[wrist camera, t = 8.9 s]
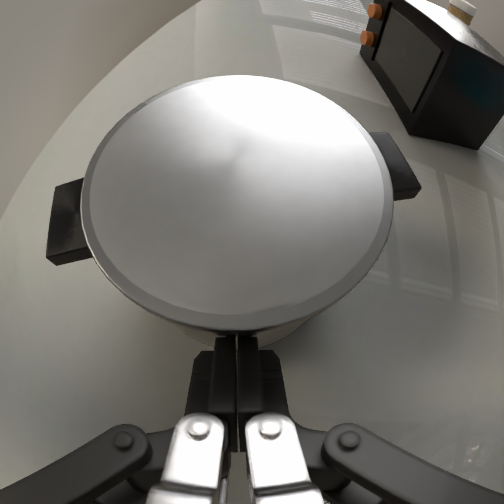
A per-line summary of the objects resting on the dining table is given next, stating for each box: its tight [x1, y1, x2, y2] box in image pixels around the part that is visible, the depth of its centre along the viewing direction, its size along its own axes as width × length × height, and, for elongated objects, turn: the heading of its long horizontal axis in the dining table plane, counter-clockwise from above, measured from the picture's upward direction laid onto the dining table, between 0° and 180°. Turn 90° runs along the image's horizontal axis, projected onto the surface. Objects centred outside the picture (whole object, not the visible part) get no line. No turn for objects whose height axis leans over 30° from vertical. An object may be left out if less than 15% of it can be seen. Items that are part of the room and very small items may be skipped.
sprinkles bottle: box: [448, 0, 477, 26], centre depth 27 cm, size 5×5×14 cm
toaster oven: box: [359, 0, 504, 150], centre depth 21 cm, size 11×16×11 cm
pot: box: [46, 75, 421, 350], centre depth 13 cm, size 14×11×8 cm
